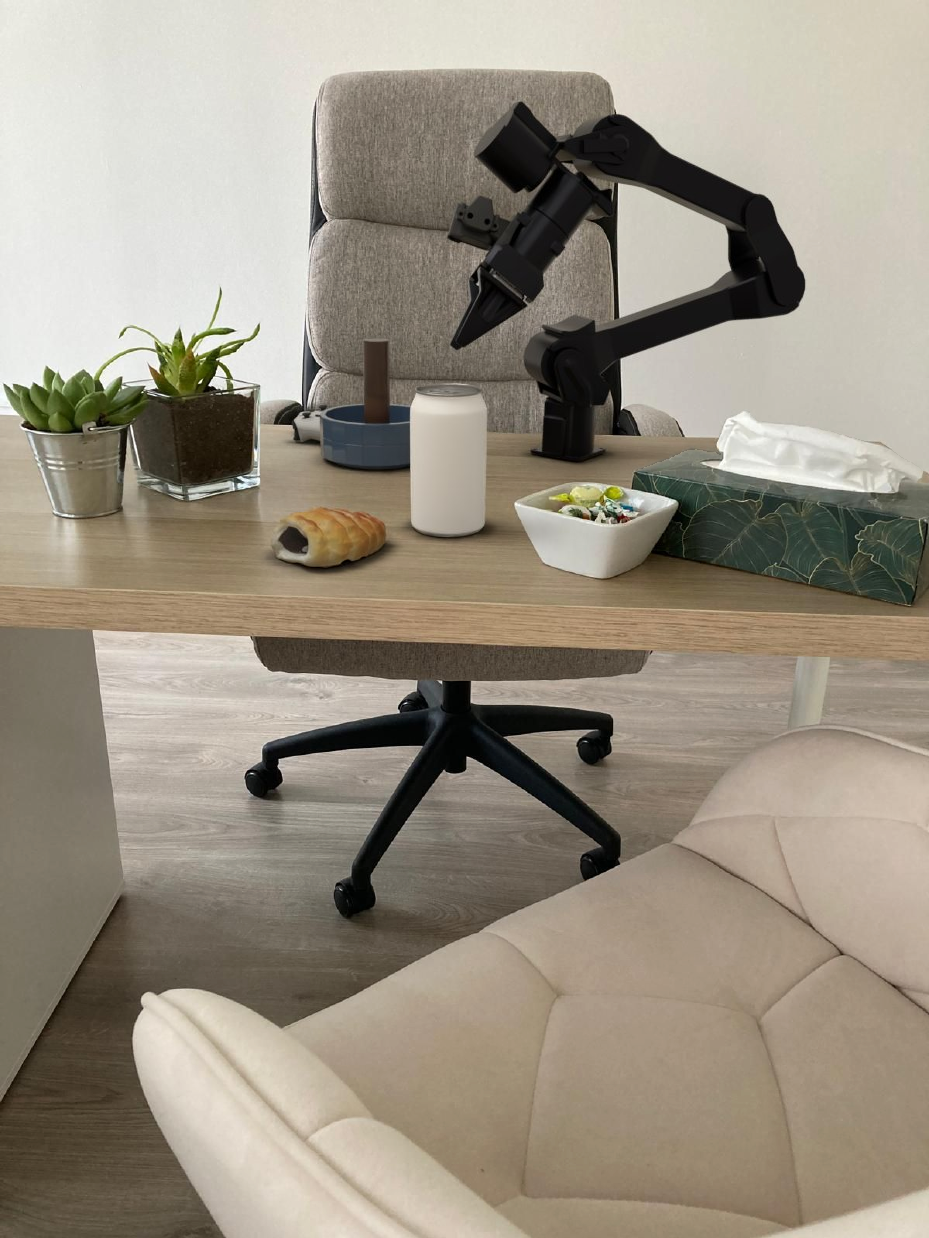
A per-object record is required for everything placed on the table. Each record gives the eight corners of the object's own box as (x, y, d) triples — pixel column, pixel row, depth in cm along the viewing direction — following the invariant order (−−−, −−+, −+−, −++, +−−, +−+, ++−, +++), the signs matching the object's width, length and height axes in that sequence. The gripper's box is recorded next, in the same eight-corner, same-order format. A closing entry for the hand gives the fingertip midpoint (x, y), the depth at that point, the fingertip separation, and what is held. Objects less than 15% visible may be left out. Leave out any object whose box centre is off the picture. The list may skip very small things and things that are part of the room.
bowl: (371, 442, 121) (371, 399, 120) (454, 457, 115) (454, 412, 113) (298, 460, 112) (296, 414, 110) (383, 477, 106) (382, 429, 104)
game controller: (349, 439, 118) (311, 401, 117) (317, 470, 120) (279, 433, 118) (358, 422, 127) (323, 387, 126) (329, 452, 129) (293, 418, 127)
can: (475, 541, 86) (477, 397, 81) (401, 535, 87) (399, 393, 83) (492, 520, 92) (495, 384, 87) (423, 514, 93) (422, 380, 89)
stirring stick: (394, 448, 116) (393, 337, 111) (400, 457, 112) (399, 342, 107) (355, 449, 115) (352, 337, 110) (360, 458, 111) (358, 342, 106)
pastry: (351, 532, 88) (350, 488, 86) (407, 549, 84) (407, 504, 82) (263, 556, 81) (261, 510, 80) (320, 577, 77) (318, 528, 76)
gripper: (478, 189, 115) (394, 304, 117) (496, 153, 97) (396, 290, 99) (554, 254, 117) (471, 366, 119) (586, 231, 99) (487, 363, 101)
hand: (456, 346), depth 109 cm, fingers open, 9 cm apart
